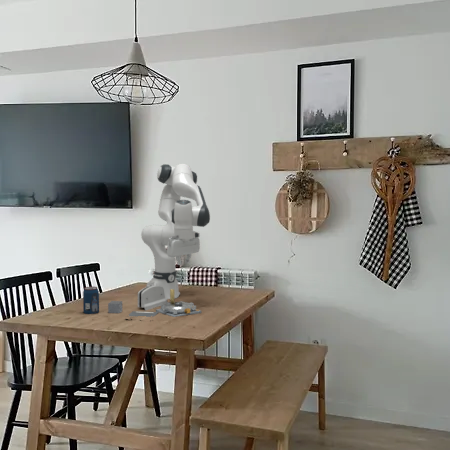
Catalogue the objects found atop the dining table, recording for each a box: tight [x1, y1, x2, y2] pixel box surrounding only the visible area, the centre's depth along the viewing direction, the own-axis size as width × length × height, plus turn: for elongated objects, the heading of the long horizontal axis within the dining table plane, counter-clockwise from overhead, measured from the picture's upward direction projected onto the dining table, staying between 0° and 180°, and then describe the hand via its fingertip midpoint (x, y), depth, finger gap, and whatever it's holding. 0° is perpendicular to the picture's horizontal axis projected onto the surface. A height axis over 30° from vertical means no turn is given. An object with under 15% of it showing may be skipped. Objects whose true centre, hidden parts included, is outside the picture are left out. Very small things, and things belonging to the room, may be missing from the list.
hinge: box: [137, 286, 169, 312], centre depth 248 cm, size 17×5×10 cm, turn 147°
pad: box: [128, 310, 159, 318], centre depth 230 cm, size 12×12×1 cm
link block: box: [107, 300, 123, 314], centre depth 236 cm, size 5×5×5 cm
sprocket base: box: [155, 308, 202, 318], centre depth 237 cm, size 15×15×1 cm
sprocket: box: [160, 289, 197, 314], centre depth 237 cm, size 16×16×8 cm
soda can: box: [82, 286, 100, 315], centre depth 234 cm, size 7×7×12 cm
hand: (183, 264), depth 243 cm, fingers open, 4 cm apart
